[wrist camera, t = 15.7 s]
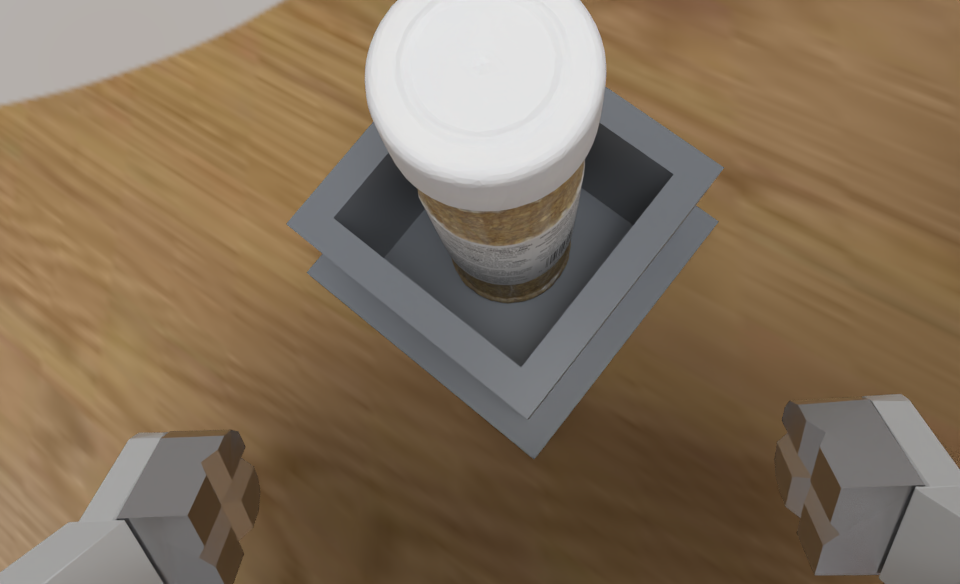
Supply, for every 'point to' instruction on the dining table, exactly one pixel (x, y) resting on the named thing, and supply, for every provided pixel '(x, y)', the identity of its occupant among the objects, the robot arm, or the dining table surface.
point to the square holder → (528, 324)
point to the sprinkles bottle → (491, 128)
